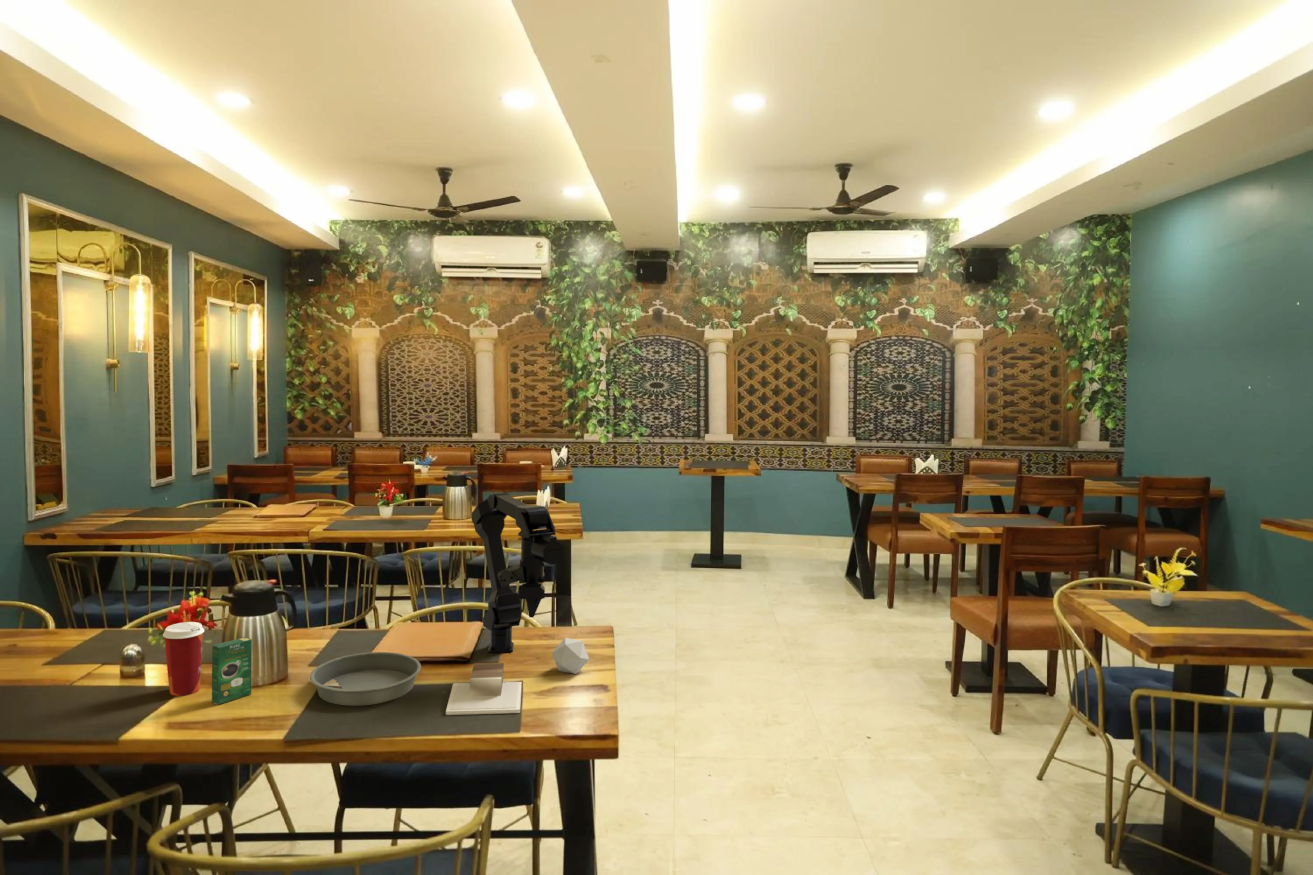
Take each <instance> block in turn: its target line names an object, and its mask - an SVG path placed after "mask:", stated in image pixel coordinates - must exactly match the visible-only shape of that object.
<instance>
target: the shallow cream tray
mask: <svg viewBox="0 0 1313 875" xmlns="http://www.w3.org/2000/svg"><path fill="white" fill-rule="evenodd" d="M522 683H523V682H522V681H507V682H505V681H503V685H502V692H501V695H500V696H470V682H463V683H462V682H461V683H460V682H458V683H457V682H454V683H452V687H451V691H450V694H449V698H448V702H447V706H446V710H445V716H455V715H458V716H459V715H487V714H488V715H493V714H498V715H499V714H520V713H521V700H522Z"/></svg>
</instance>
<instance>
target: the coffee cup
mask: <svg viewBox="0 0 1313 875" xmlns="http://www.w3.org/2000/svg"><path fill="white" fill-rule="evenodd" d="M204 632H205V628H203V624H202V623H201V622H197V621H196V622H195V621H185V622H178V623H174V624H171V625H168V626H167V627H166V628H165V629H164V632H163V634H162V638H164V644H165V646H164V647H165V657H166V658H165V660H166V667H167V668H166V670H167V680H168V681H167V682H168V689H169V694H170V695H171V696H175V697H183V696H189V695H193V694H195V693H197V692H199V691H200V688H201V672H202V659H203V658H202V653H203V635H204V634H203V633H204Z"/></svg>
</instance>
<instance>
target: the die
mask: <svg viewBox="0 0 1313 875" xmlns="http://www.w3.org/2000/svg"><path fill="white" fill-rule="evenodd" d="M551 654H552V657H553V659H554V662H555V665H556V667H557V670H558V671H559V672H564V673H568V674H572V675H573V674H574V675H577V674H578V673H579V672H580V671H581V670H582V669H583V667H584V666H585V665H586V664H587V663H588V662H589V661H590V657H589V655H588V651H587V648H586V646H585V644H584V641H583V640H579V639H574V638H568V637H564V638H563V639H562V641H561V642H560V643H559V644H558V645H557V646H556V647H555V648H554V649H553V651H552V652H551Z"/></svg>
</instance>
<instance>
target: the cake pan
mask: <svg viewBox="0 0 1313 875" xmlns="http://www.w3.org/2000/svg"><path fill="white" fill-rule="evenodd" d="M421 670H422V665H421V662H420V661H419V660H417V659H416V658H414V657H413V656H411V655H407V654H403V653H398V652H389V651H388V652H387V651H375V652H374V651H373V652H371V651H370V652H361V653H360V652H359V653H354V654H350V655H348V654H347V655H343V656H340V657H336V658H333V659H330V660H328V661H326V662H322V663H321V664H319V665H318V666H316V667H315V668H314V669H312V671H311V672H310V674H309V680H310V682H311V683H312V684H313V685H314V686H315V687H316V690H317V694H318V696H319V698H320V699H322V700H324V701H326V702H328V703H331V704H335V705H340V706H341V705H342V706H368V705H376V704H382V703H386V702H389V701H393V700H396V699H398V698H401V697H403V696H404V695H407V694H408V693H409V692H410V691H411V690H412V689H413V688H414V685H415V682H416V676H417V675H418V674H419V673H420V672H421ZM333 680H334V681H335V682H336V683H337V686H339V687H341V688H336V687H331V686H327V685H325V684H327V683H328V682H331V681H333Z"/></svg>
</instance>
